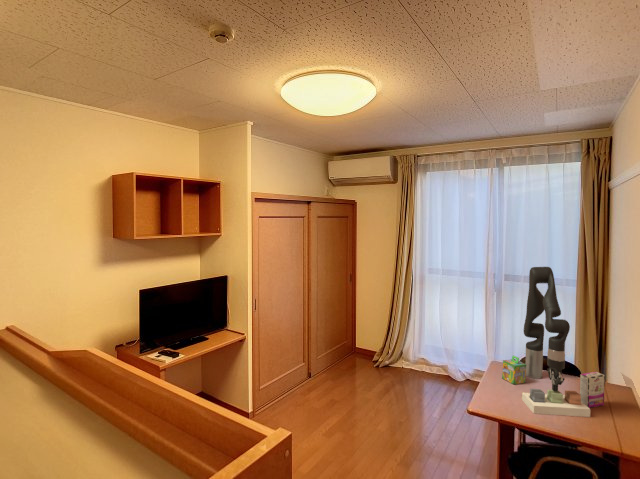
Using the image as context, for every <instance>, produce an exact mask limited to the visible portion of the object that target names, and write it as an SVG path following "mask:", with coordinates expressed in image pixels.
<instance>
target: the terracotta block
mask: <svg viewBox="0 0 640 479" xmlns="http://www.w3.org/2000/svg"><path fill="white" fill-rule="evenodd" d="M564 395H565V401H567V402H568V403H569V404H576V405H581V395H580V393H579V392H577V391H576V390H564Z"/></svg>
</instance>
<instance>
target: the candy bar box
mask: <svg viewBox="0 0 640 479" xmlns="http://www.w3.org/2000/svg"><path fill="white" fill-rule="evenodd" d="M605 377H606V375H605V374H603V373H600V372H598V371H592V372H585V373H581V374H580V375H579V378H580V379H579V380H580V381H579V382H580V383H579V391H580V392H579V394H580V395H581V402H582V403H584V404H585V405H586V406H587V407H588V408H590V409H591V408H592V409H593V408H596V407H602V406H603V407H604V406H605V383H606V382H605V381H606V380H605Z"/></svg>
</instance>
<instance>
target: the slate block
mask: <svg viewBox="0 0 640 479" xmlns="http://www.w3.org/2000/svg"><path fill="white" fill-rule="evenodd" d="M529 393H530V399H531V400H532V401H533V402H542V403H545V394H546V392H545V393H544V391H543V390H542V389H541V388H529Z"/></svg>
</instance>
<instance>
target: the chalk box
mask: <svg viewBox="0 0 640 479" xmlns="http://www.w3.org/2000/svg"><path fill="white" fill-rule="evenodd" d="M526 377H527V376H526V364H525V362H522V361H521V360H520V357H518V356H515V355H512V356H511V359H505V360H504V359H503V360H502V376H501V379H503V380H505V381H506V382H508V383H510V384H512V385H520V384H526Z"/></svg>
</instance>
